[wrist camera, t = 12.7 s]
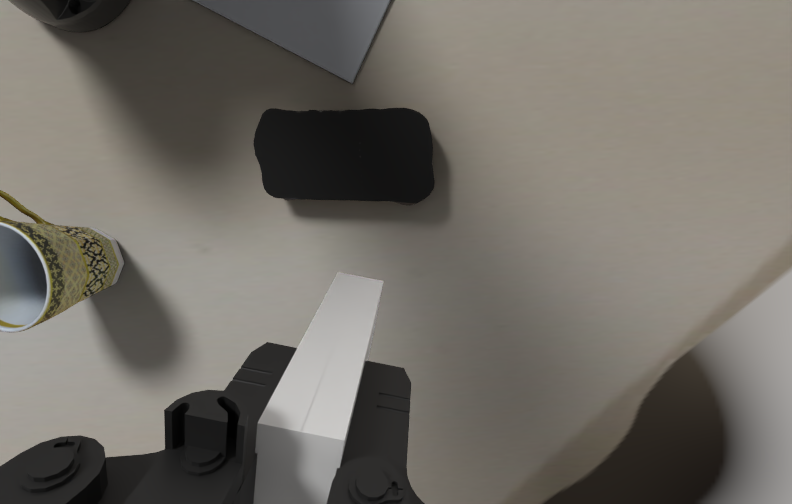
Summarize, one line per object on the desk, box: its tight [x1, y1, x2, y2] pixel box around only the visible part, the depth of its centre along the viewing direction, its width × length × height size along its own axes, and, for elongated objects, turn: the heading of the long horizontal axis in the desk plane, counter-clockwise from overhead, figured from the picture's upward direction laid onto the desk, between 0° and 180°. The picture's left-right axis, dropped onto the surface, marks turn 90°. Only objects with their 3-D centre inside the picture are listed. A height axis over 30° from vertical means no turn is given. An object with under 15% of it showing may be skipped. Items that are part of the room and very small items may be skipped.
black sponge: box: [254, 108, 434, 205], centre depth 38 cm, size 16×8×4 cm, turn 89°
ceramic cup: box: [0, 190, 124, 332], centre depth 40 cm, size 13×10×10 cm
